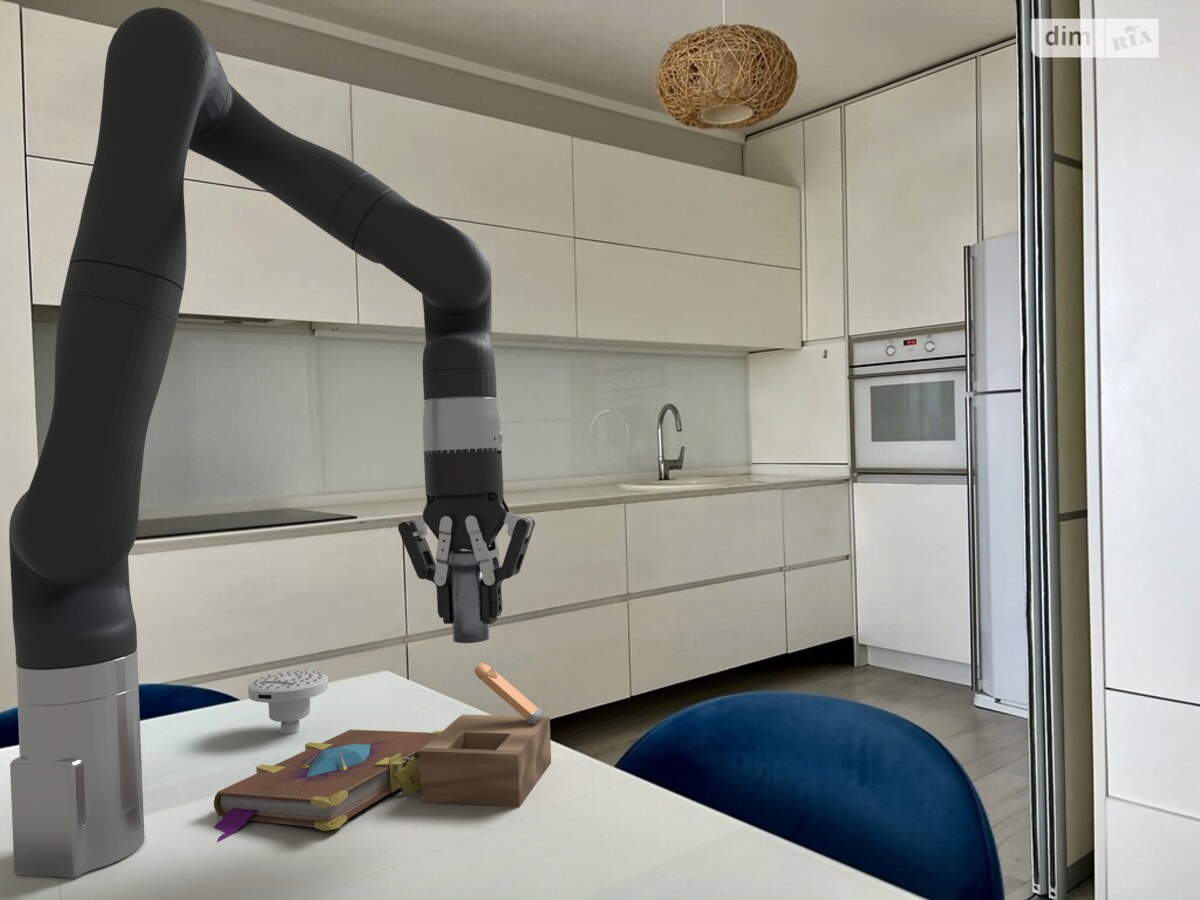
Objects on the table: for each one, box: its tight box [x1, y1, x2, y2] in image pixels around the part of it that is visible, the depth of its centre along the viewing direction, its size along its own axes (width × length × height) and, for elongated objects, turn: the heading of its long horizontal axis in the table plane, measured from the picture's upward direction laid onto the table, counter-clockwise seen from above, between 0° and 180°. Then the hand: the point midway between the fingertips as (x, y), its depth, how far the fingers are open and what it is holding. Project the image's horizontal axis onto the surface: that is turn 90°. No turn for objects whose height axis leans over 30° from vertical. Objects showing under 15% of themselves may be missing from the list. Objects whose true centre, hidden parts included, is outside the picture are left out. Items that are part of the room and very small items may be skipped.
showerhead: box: [247, 663, 329, 735], centre depth 113 cm, size 9×7×10 cm
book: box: [212, 729, 443, 843], centre depth 91 cm, size 16×25×5 cm, turn 157°
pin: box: [447, 549, 490, 644], centre depth 88 cm, size 4×4×9 cm
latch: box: [474, 662, 544, 725], centre depth 97 cm, size 3×9×1 cm
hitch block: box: [419, 714, 552, 807], centre depth 93 cm, size 12×10×5 cm
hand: (470, 621), depth 88 cm, fingers closed on pin, 3 cm apart
